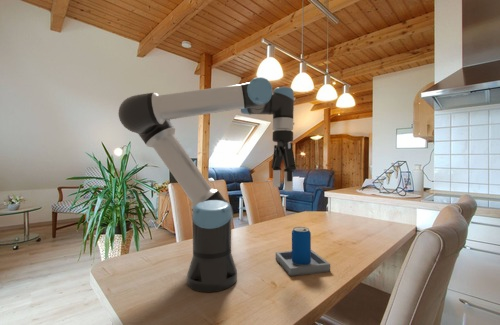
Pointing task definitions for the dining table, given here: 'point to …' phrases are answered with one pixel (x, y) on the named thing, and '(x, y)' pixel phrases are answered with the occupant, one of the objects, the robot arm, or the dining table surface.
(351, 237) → the dining table surface
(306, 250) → the beverage can
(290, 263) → the tray
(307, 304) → the dining table surface
